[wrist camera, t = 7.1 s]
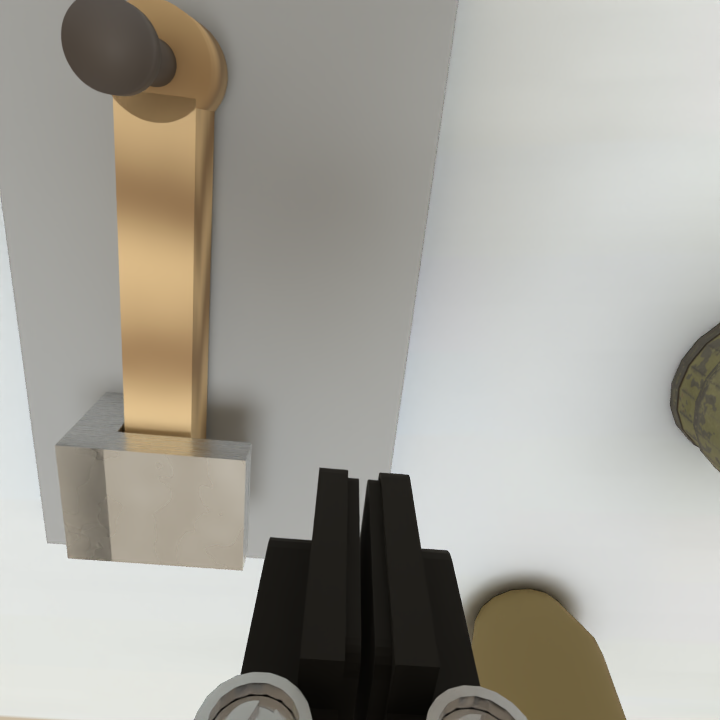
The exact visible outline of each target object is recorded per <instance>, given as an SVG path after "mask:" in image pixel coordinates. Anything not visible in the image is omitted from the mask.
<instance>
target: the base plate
mask: <svg viewBox="0 0 720 720" xmlns="http://www.w3.org/2000/svg"><path fill="white" fill-rule="evenodd" d="M74 1H76V0H0V195H1V202H2V210H3V217H4V225H5V232H6V240H7V247H8V255H9V262H10V270H11V277H12V285H13V292H14V299H15V307H16V314H17V322H18V329H19V337H20V344H21V352H22V359H23V367H24V374H25V382H26V389H27V397H28V404H29V411H30V419H31V426H32V434H33V441H34V449H35V456H36V464H37V471H38V479H39V486H40V494H41V501H42V509H43V516H44V523H45V531H46V538H47V543H52V544H66V537H65V529H64V520H63V512H62V503H61V495H60V486H59V478H58V469H57V461H56V452H55V445H56V444H57V443H58V442H59V440H60V439H61V438H62V437H63V436H64V435H65V434H66V433H67V432H68V431H69V430H70V429H71V428H72V427H73V426H74V425H75V424H76V423H77V422H78V421H79V420H80V419H81V418H82V417H83V416H84V414H85V413H86V412H87V411H88V410H89V409H90V408H91V407H92V406H93V405H94V404H95V403H96V402H97V401H98V400H99V399H100V398H101V397H102V396H103V395H104V394H105V393H106V392H116V393H123V367H122V340H121V312H120V284H119V256H118V228H117V201H116V173H115V145H114V117H113V97H112V95H110V94H105V93H101V92H98V91H96V90H94V89H92V88H90V87H89V86H87V85H86V84H85V83H84V82H82V81H81V80H80V79H79V78H78V77H77V76H76V74H75V73H74V72H73V71H72V69H71V67H70V66H69V64H68V62H67V60H66V58H65V55H64V52H63V48H62V42H61V27H62V22H63V19H64V16H65V14H66V12H67V10H68V8H69V7H70V6H71V5H72V3H73V2H74ZM125 1H128V0H125ZM165 1H168V2H170V3H172V4H173V5H175V6H177V7H178V8H180V9H181V10H182V11H184V12H185V13H187V14H188V15H189V16H191V17H192V18H193V19H195V20H196V21H197V22H199V23H200V24H201V25H203V26H204V27H205V28H206V29H207V30H209V31H210V33H211V34H212V35H213V36H214V37H215V39H216V40H217V42H218V43H219V45H220V47H221V49H222V51H223V54H224V56H225V60H226V64H227V70H228V81H227V88H226V92H225V95H224V98H223V100H222V102H221V104H220V105H219V107H218V108H217V110H216V111H215V115H214V153H213V191H212V229H211V268H210V306H209V344H208V383H207V421H206V439H211V440H223V441H235V442H247V443H252V449H251V478H250V508H249V537H248V551H247V555H246V557H248V558H262V559H265V555H266V550H267V546H268V541H269V538H270V537H276V538H289V539H302V540H312V534H313V524H314V515H315V505H316V495H317V486H318V476H319V467H320V468H332V469H344V470H348V478H358V479H359V507H360V532H361V525H362V517H363V509H364V502H365V494H366V486H367V481H368V479H370V480H378V476H379V473H380V472H381V473H390V472H391V465H392V458H393V451H394V444H395V437H396V430H397V423H398V416H399V409H400V402H401V395H402V388H403V381H404V374H405V368H406V361H407V354H408V347H409V340H410V333H411V326H412V319H413V312H414V305H415V298H416V291H417V284H418V277H419V270H420V264H421V257H422V250H423V243H424V236H425V229H426V222H427V215H428V208H429V201H430V194H431V187H432V180H433V173H434V166H435V159H436V153H437V146H438V139H439V132H440V125H441V118H442V111H443V104H444V97H445V90H446V83H447V76H448V69H449V62H450V55H451V48H452V42H453V35H454V28H455V21H456V14H457V7H458V0H165Z"/></svg>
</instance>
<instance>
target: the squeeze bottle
mask: <svg viewBox="0 0 720 720" xmlns="http://www.w3.org/2000/svg"><path fill="white" fill-rule="evenodd" d="M471 647H472V651H473V656H474V660H475V664H476V669H477V673H478V678H479V682H480V687H483V688H486V689H488V690H491V691H494V692H497V693H498V694H500V695H501V696H503V697H504V698H506V699H507V700H509V701H511V702H512V703H513V704H514V705H515V706H516V707H517V708H518V709H519V710H520V711H521V712H522V713H523V714H524V715H525V716H526V718H527V720H626V718H625V715H624V712H623V709H622V706H621V704H620V701H619V698H618V695H617V693H616V690H615V687H614V684H613V681H612V679H611V676H610V673H609V670H608V668H607V665H606V662H605V659H604V656H603V654H602V652H601V650H600V648H599V646H598V644H597V642H596V640H595V638H594V637H593V636H592V635H591V634H590V633H589V632H588V631H587V630H586V629H585V628H584V627H583V626H582V625H581V624H580V623H579V622H578V621H577V620H576V619H575V618H574V617H573V616H572V615H571V614H570V613H569V612H568V611H567V610H566V609H565V608H564V607H563V606H562V605H561V604H560V603H559V602H558V601H557V600H555V599H554V598H552V597H551V596H550V595H548V594H547V593H545V592H540V591H536V590H532V589H521V590H510V591H508V592H505V593H503V594H500V595H498V596H495V597H494V598H492V599H491V600H490V601H489V602H488V603H486V604H485V605H484V606H483V607H482V608H481V610H480V612H479V614H478V616H477V617H476V619H475V624H474V631H473V638H472V645H471Z"/></svg>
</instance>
